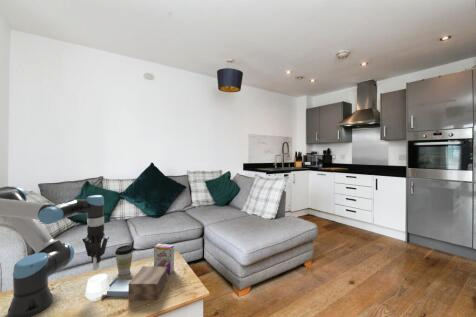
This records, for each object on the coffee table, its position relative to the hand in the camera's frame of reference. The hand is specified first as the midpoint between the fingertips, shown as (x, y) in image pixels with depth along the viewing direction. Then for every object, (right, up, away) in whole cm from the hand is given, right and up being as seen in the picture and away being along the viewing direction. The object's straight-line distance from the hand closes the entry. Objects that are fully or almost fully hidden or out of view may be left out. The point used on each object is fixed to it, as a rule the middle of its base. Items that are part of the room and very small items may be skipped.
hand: (96, 268), depth 113 cm
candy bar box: (+30, -12, +19) cm, 37 cm away
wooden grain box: (+28, -12, +1) cm, 30 cm away
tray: (+13, -12, +1) cm, 18 cm away
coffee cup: (+6, -12, +17) cm, 22 cm away
